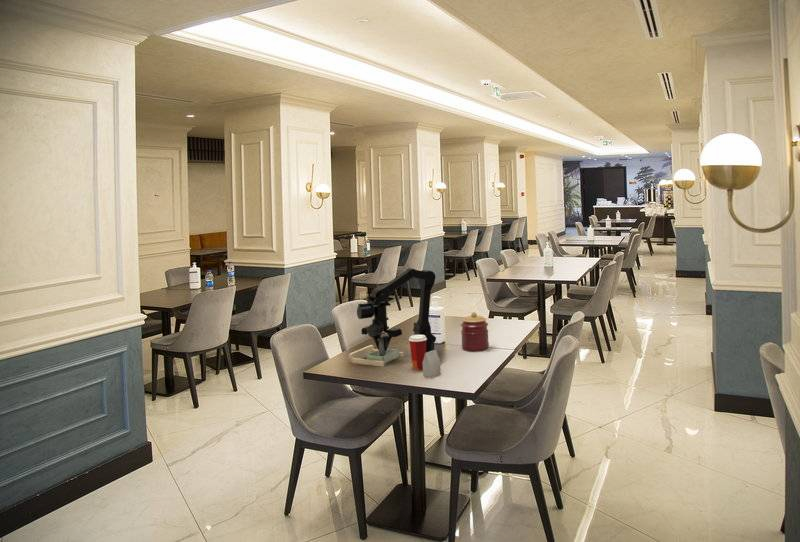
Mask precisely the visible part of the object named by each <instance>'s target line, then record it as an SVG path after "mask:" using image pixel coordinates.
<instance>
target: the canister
mask: <svg viewBox="0 0 800 542" xmlns="http://www.w3.org/2000/svg"><path fill="white" fill-rule="evenodd" d="M486 320H487V318H485V317H484V316H482V315H479V314H477V312H475V311H474V312H471V315H468V316H465V317H464V318H462V320H461V321H462V323H461V324H460V326H461V331H460V333H461V347H462V348H461V349H462V350H463V351H465V352H483V351H486V350H488V349H489V347H490V341H489V330H488V325H489V323H488V322H487V321H486Z"/></svg>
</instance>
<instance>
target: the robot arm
mask: <svg viewBox="0 0 800 542" xmlns="http://www.w3.org/2000/svg"><path fill="white" fill-rule="evenodd" d="M413 278H415V279H418V284H419V287H420V295H419V307H418V319H417V320H416V322H413V329H412V332H413V334H414V335H425V336H426V338H427V340H426V353H427V352H430V351H433V350H436V349H435V342H436V341H437V337H436V336H435V335H434V334H433V333H432V327H431V324H430V321H429V319H430V307H431V306H430V304H431V293H432V289H433V287H434V285H435V281H436V274H435V272H434V271H433V270H428V269H427V270H426V269H423V270H419V269H414V268H412V267H408V268H406V270H404V271H403V272H401V273H400V274H399V275H397V276H396V277H394V278H392V279H391V280H390V281H389V282H387V283H385V284H383V285H379V286H377V287H375V288H373V289H372V290H371V294H370V296H369V298H368V300H367V301H366V303H358V306H357V309H356V316H357V318H358V320H363V319H370V318H373V317H374V318H373V319H372V323H371V324H369V325H367V326H363V327H362V328H361V330H360V332H361V335H368V336H369V337H370V338H372V339H373V342H374V343H375V345H376V348H377V349H378V350H379V341H378V340H377V338H378V337H382V338H383V339H384V349H385V351H386V350H387V349H389V345H390V342H391V340H392V338H397V337H399V336H402V335H403V330H402V329H401V328H398V327H397V328H396V327H393V328H391V329H390V326H388V321H389V319H390V318H389V317H388V314H387V313H388V312H387V307H389V306H391V303H390V302H389V301H388V298H390V297H391V295H392V294H393V292H394V291H396V290H397V289H398V288H400V287H401V286H403V285H404V284H405V283H407V282H409V280H411V279H413ZM382 334H383V336H382Z"/></svg>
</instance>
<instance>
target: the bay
mask: <svg viewBox="0 0 800 542" xmlns="http://www.w3.org/2000/svg"><path fill="white" fill-rule="evenodd" d="M377 350H378V348H377V349H376V348H375V346H374V344H370V345H367V346H365V347H362V348H360V349H358V350H355V351H353V352H351V353H350V352H349V353H348V362H349V363H350V364H359V365H367V366H376V367H384V366H385V364H384V361H377V360H368V359H366V355H368V354H370V353H372V352H375V351H377ZM404 353H405V352H404V351H399V357H398V358H403V357H404V355H405V354H404Z"/></svg>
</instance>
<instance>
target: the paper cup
mask: <svg viewBox="0 0 800 542" xmlns="http://www.w3.org/2000/svg"><path fill="white" fill-rule="evenodd" d="M426 340H427V338H426V336H425V335H415V334H414V335H410V336H409V338H408V341H409V346H410V354H411V356H410V357H411V363H412V369H413V370H414V369H415V371H423V363H422V362H423V359H424V356H425V353H426Z"/></svg>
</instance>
